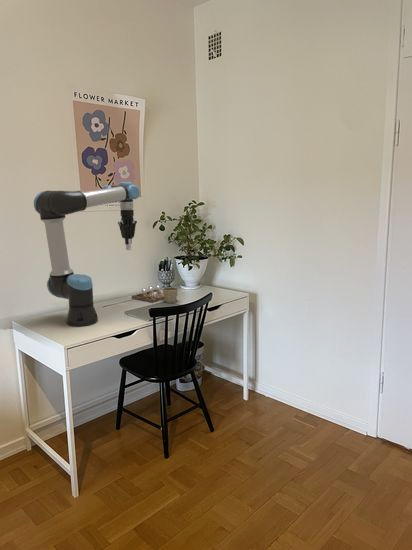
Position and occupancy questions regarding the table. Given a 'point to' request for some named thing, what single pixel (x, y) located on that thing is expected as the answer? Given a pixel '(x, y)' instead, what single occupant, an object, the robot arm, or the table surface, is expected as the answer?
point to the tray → (139, 297)
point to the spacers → (150, 292)
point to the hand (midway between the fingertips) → (128, 249)
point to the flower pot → (170, 294)
